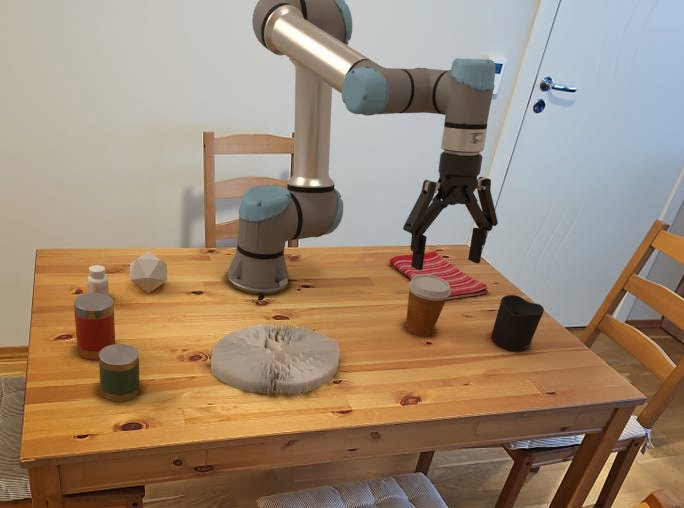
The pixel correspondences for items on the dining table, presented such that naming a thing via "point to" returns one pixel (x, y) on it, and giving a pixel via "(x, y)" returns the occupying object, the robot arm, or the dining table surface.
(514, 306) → the pen holder
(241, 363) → the spiky fractal disc
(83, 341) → the tomato tin
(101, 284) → the pill bottle
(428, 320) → the disposable coffee cup
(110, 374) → the bean tin
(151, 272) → the die
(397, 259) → the dish towel
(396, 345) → the dining table surface
